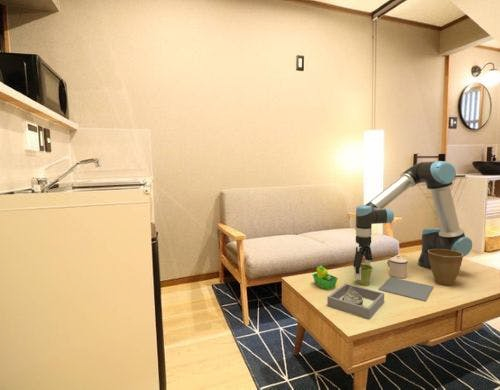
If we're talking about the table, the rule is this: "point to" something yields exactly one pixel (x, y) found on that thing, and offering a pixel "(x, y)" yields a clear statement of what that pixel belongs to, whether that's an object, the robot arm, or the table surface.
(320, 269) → the fruit basket
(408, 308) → the table surface
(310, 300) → the table surface
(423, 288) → the charcoal mat
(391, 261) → the teacup with lid
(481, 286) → the table surface
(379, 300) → the rock display frame
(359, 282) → the plant pot
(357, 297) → the rock sample
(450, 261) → the plant pot
